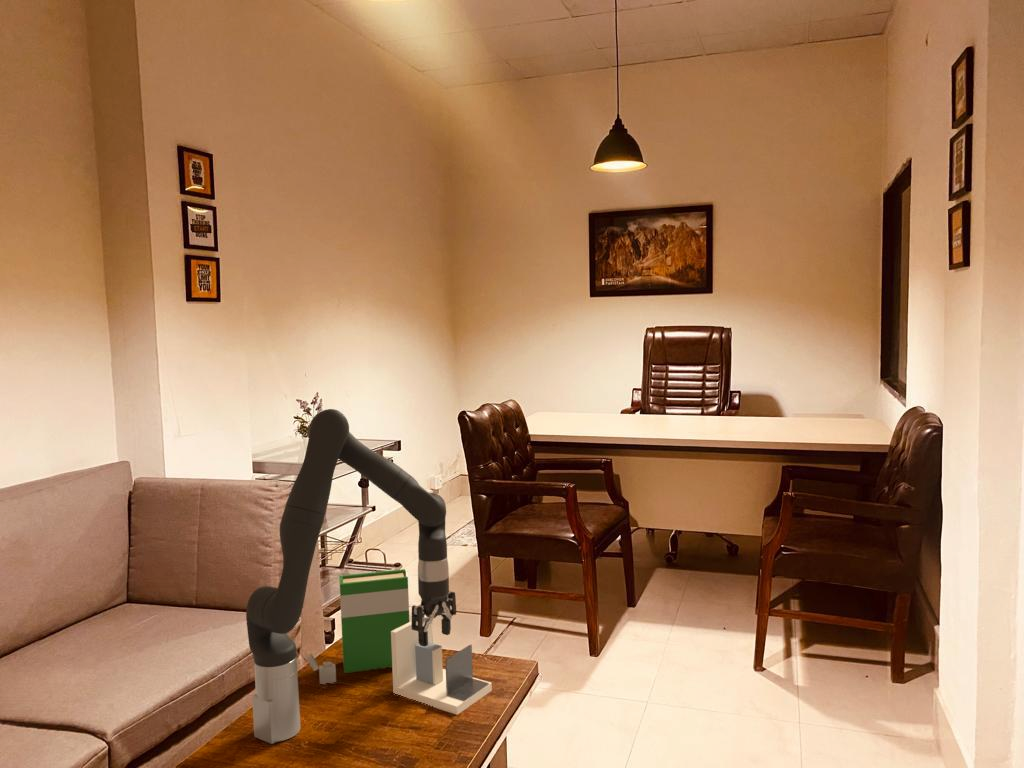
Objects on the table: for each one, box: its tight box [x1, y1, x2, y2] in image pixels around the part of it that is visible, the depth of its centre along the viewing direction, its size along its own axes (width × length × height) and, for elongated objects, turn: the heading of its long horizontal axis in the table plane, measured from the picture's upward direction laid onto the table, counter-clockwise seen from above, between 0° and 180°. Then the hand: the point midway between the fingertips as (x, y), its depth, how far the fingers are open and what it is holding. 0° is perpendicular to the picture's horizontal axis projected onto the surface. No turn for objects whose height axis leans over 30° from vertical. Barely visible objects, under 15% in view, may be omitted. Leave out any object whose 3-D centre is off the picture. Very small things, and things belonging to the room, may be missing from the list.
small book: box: [415, 642, 444, 685], centre depth 199 cm, size 3×6×9 cm, turn 56°
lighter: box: [305, 652, 337, 685], centre depth 203 cm, size 7×2×8 cm, turn 105°
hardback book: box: [338, 568, 411, 674], centre depth 214 cm, size 18×7×24 cm, turn 104°
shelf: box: [391, 615, 493, 716], centre depth 196 cm, size 14×20×16 cm
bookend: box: [444, 644, 489, 701], centre depth 193 cm, size 10×5×9 cm, turn 146°
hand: (435, 639), depth 196 cm, fingers open, 8 cm apart
